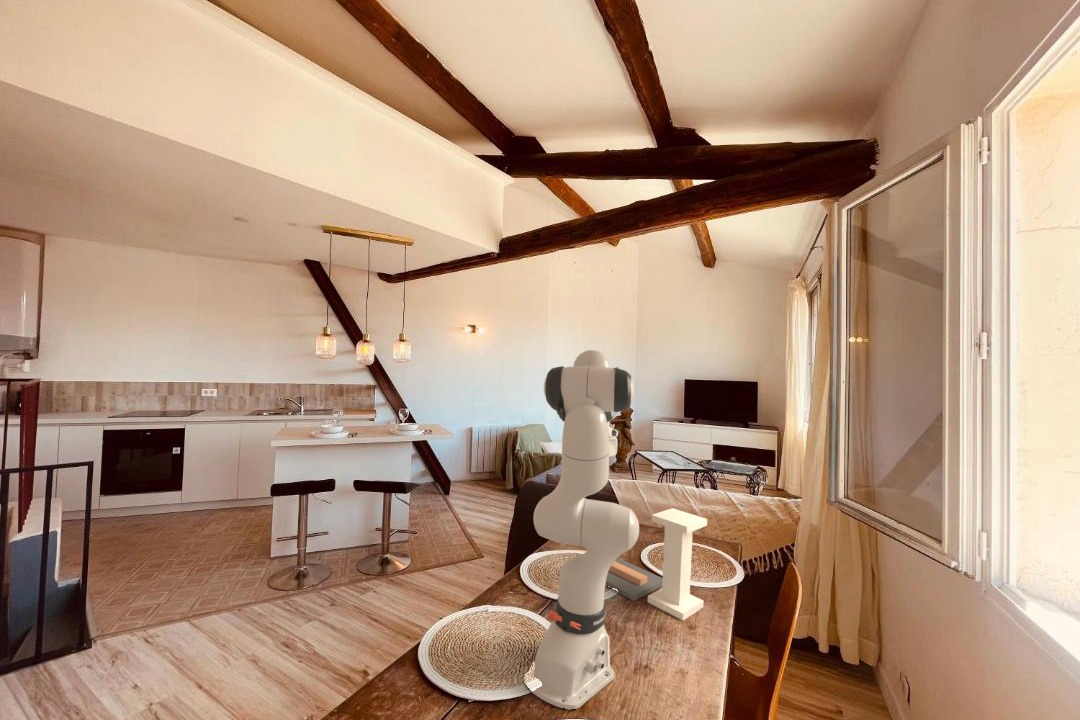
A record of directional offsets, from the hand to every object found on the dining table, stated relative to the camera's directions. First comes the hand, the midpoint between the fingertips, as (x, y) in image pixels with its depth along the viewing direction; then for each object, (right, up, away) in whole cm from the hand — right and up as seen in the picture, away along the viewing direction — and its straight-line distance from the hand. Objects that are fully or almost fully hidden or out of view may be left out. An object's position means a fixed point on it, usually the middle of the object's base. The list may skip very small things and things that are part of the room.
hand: (594, 470), depth 149 cm
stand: (+23, -37, -18) cm, 47 cm away
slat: (+7, -35, 0) cm, 36 cm away
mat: (+8, -37, -1) cm, 37 cm away
